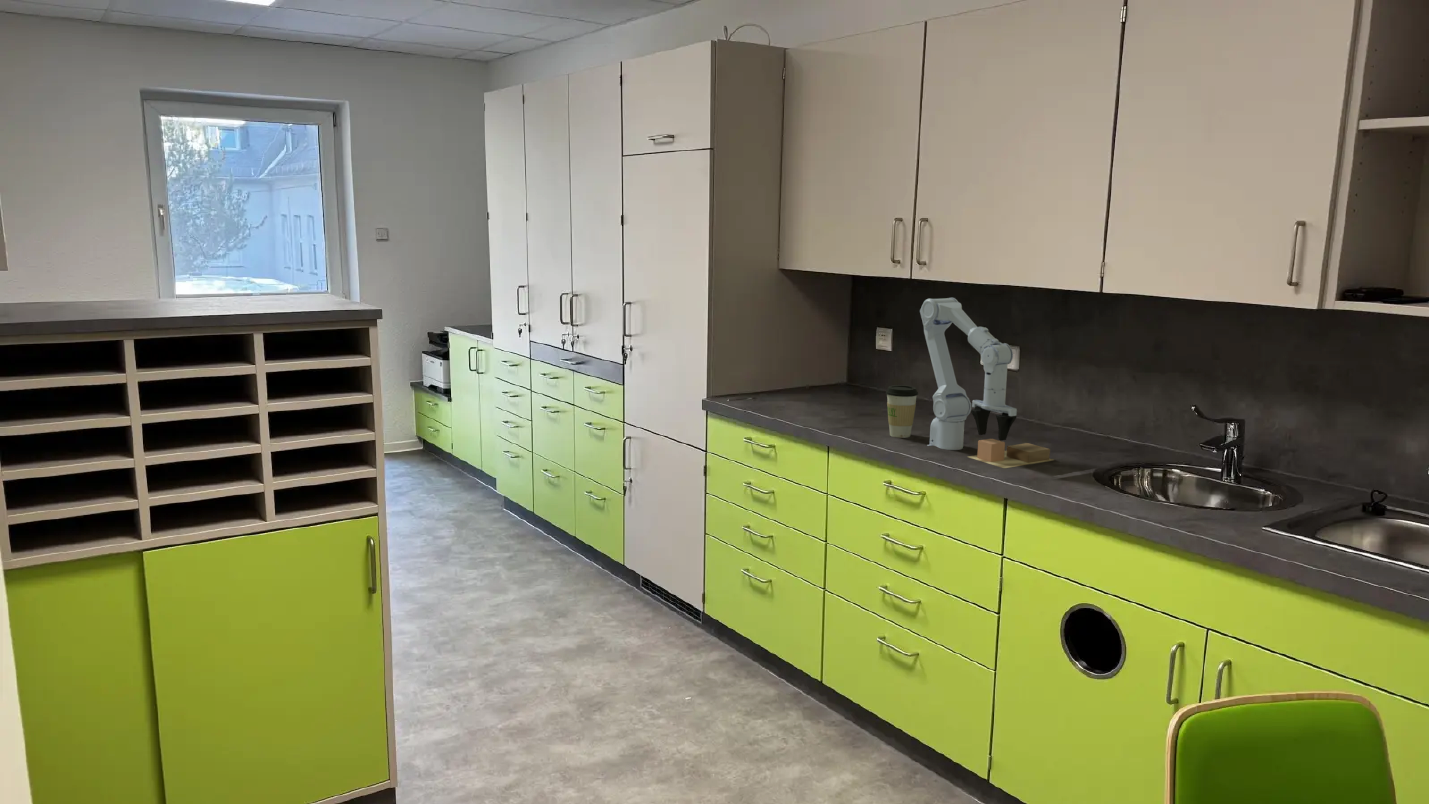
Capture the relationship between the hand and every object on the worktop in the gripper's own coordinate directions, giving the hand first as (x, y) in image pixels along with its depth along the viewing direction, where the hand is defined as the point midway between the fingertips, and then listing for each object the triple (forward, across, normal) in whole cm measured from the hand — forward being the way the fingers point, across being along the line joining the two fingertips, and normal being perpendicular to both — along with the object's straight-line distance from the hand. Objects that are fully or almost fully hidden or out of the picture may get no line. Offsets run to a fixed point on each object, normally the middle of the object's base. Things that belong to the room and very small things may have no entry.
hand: (992, 437), depth 260 cm
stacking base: (+7, +2, +6) cm, 9 cm away
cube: (+6, 0, 0) cm, 6 cm away
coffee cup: (+7, -37, -1) cm, 38 cm away
